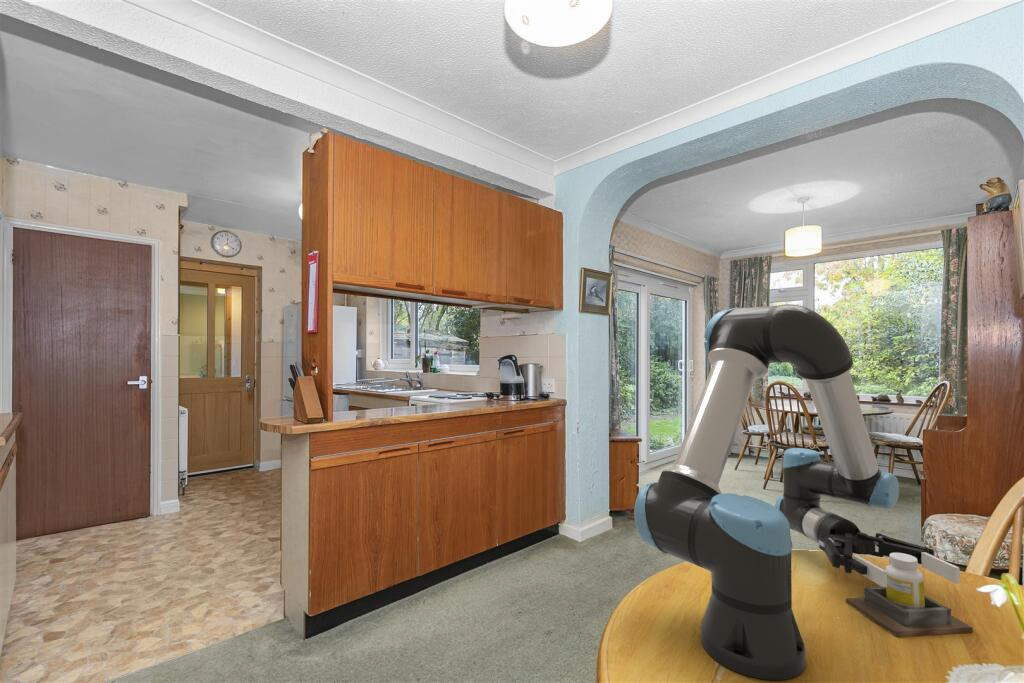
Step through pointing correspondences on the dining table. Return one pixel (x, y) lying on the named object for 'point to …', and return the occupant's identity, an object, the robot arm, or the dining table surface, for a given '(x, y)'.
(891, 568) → the supplement bottle
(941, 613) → the collar holder
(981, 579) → the dining table surface
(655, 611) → the dining table surface
